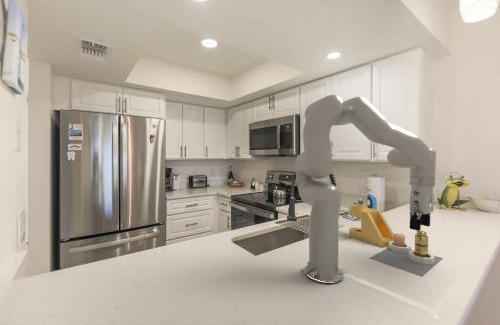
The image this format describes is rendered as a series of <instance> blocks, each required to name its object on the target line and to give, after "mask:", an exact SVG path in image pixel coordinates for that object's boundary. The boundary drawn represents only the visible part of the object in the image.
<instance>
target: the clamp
mask: <svg viewBox="0 0 500 325" xmlns="http://www.w3.org/2000/svg"><path fill="white" fill-rule="evenodd" d="M381 211H382V210H379V209H374V208H371V207H368V205H366V204H362V203H352V204H351V206H349V207H348V212H349V213H348V215H349V216H351V217H354V218H358V219H360V227H352V228H351V227H350V228H349V230H348V236H349V237H348V238H350V239H354V238H355V239H359V240H361V241H363V242H366V243H369V244H372V245H374V246H377V247H380V248H383V249H384V248H388V243H389V242H391V241H394V234H395V233H394V232H393V231H392V230H393V229H391V227H390V225H389V223H388V221H387V220H386V218H385V217H384V215H383V213H382V212H381Z"/></svg>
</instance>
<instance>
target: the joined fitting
mask: <svg viewBox="0 0 500 325" xmlns="http://www.w3.org/2000/svg"><path fill="white" fill-rule="evenodd" d="M393 234H394V241H391V242H389V243H388V247H387V248H389V249H390V250H392V251H395V252H398V253H409V252H410V251H411V249H412V246H411V245H409V244H408V243H406V235H405V234H402V233H393Z"/></svg>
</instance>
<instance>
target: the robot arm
mask: <svg viewBox="0 0 500 325" xmlns="http://www.w3.org/2000/svg"><path fill="white" fill-rule="evenodd" d="M304 119H305V122H304V125H303V130H302V142H303V152H301V153H300V154H298V156H297V157H296V159H295V165H294V169H295V170H294V171H295V176H296V184H297V189H298V190H297V191H298V195H299V198H300V199H301V200H302V202H303V203H305V204H306V205H308V206H311V210H310V214H309V219H308V258H309V259H308V262H307V265H305V266H304V268H302V269H300V272H299V274H300V275H301V276H303V277H305V276H306V275H309V276H310V277H312V278H314V279H317V280H320V281H325V282H337V281H340V280H341V279H342V280H343V279H344V272H343V270H342V269H341V268H340V267H339V220H340V218H339V216H340V209H341V204H342V194H341V191H340V190H339V188H338V187H337V186H336V185H334V184H333V183H331V182H327V181H323V180H322V179H325V178H328V177H330V175H331V174H332V172H333V170H334V169H333V168H334V164H333V157H332V156H333V155H332V149H331V141H330V140H331V139H330V134H331V129H332V127H333V126H334V127H335V126H343V125H348V124H349V125H351V124H352V125H353V126H354V127H355V128H356V129H358V131H359V132H360V133H361V134H363V136H365V137H366V138H367V140H368V141H370V142H373V143H376V144H379V145H383V146H387V147H390V148H392V149H391V150H389V151H388V153H387V156H386V159H387V163H388V164H390V166H392V167H395V168H400V169H401V168H402V169H404V168H405V169H409V186H411V187H410V189H411V190H410V196H409V229H410V230H414V231H416V232H417V231H421V226H425V227H430V226H431V215H432V214H431V213H432V212H434V209H435V207H434V206H435V202H434V201H435V198H434V197H435V196H434V187H436V170H437V168H436V166H437V165H436V164H437V151H436V149H434V148H429V146H428V145H427V144H426V143H425V142H424V141H423V140H422V139H421V138H420V137H419V136H418V135H416V134H415V133H413V132H411V131H408V130H406V129H404V128H403V127H400V126H397V125H395V124H393V123H391V122H389V120H388V119H387V118H386V117H385V116H384V115H383V114H382V113H381V112H380V111H379V110H378V109H377V108H376V107H375V106H374V105H373V104H372V103H371V102H370V101H369V100H368V99H367V98H365V97H363V96H355V97H352V98H349V99H347V100H344V101H343V99H342V97H341V96H339V95H337V94H336V95H335V94H329V95H326V96H324V97H322V98H320V99H318V100H316V101H314V102H312V103H310V104H309V105H308V106H307V107H306V108H305V111H304ZM313 276H314V277H313ZM342 280H341V281H342ZM341 281H340V282H341Z"/></svg>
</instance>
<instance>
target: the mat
mask: <svg viewBox="0 0 500 325" xmlns="http://www.w3.org/2000/svg"><path fill="white" fill-rule="evenodd" d="M411 250H413V248H411ZM434 256H435V263H433V264H432V265H429V264H421V263H417V262H414V261H412V260H411V259H410V258H409V253H398V252H395V251H392V250H390V249H389V248H388V247H386V248H385V249H384V250H382V251H379V252H378V253H376V254H374V255H372V256H370V257H369V259H370V260H373V261H376V262H379V263H382V264H385V265H387V266H389V267H393V268H396V269H399V270H402V271H404V272H407V273H410V274H412V275H415V276H419V277H424V276H425V275H426V274H427V273H428V272H430V271H431V269H433V268H434V267H435V266H436V265H437V264H438V263H440V262H441V261H443V259H444V258H443V257H440V256H436V255H434Z"/></svg>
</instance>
